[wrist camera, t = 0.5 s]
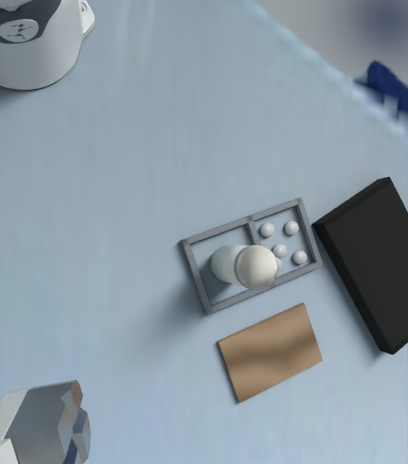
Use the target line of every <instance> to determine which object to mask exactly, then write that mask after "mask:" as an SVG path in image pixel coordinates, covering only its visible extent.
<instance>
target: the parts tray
mask: <svg viewBox="0 0 408 464" xmlns="http://www.w3.org/2000/svg"><path fill="white" fill-rule="evenodd" d="M292 206H296V210H297V213H298V216H299V219H300V222H301V225H302V228H303V231H304V234H305V237H306V240H307V244H308V247H309V250H310V253H311V256H312V259H313V262H312V263H310V264H307V265H305V266H303V267H300V268H298V269H296V270H293V271H291V272H288V273H286V274H284V275H281V276H279V277H277V278H275V280H274V281H273V283H272V284H271V285H270V286H268V287H267V288H265V289H262V290H252V289H248V290H246V291H243V292H241V293H239V294H236V295H234V296H231V297H229V298H227V299H224V300H222V301H220V302H217V303H215V304H212V305H210V302H209V299H208V296H207V293H206V290H205V287H204V285H203V282H202V279H201V276H200V273H199V270H198V267H197V264H196V261H195V258H194V255H193V253H192V250H191V247H190V244H191V243H194V242H196V241H199V240H202V239H205V238H207V237H210V236H213V235H216V234H218V233H221V232H224V231H227V230H229V229H232V228H235V227H238V226H240V225H243V224H246V226H247V229H248V232H249V235H250V238H251V241H252V244H253V245H261V242H260V239H259V236H258V233H257V230H256V227H255V224H254V220H257V219H260V218H262V217H265V216H268V215H270V214H273V213H276V212H279V211H281V210H284V209H287V208H290V207H292ZM284 229H285V232H286V233H287V234H288V235H295V234H296V233H297V232H298V230H299V227H298V224H297V223H296V222H294V221H290V222H287V223H286V224H285V227H284ZM260 233H261V235H262V236H264V237H270V236H272V235H273V234H274V226H273V225H272V224H270V223H264V224H263V225H261V227H260ZM180 241H181V244H182V246H183V249H184V252H185V255H186V258H187V261H188V264H189V267H190V270H191V273H192V276H193V278H194V281H195V284H196V287H197V290H198V293H199V296H200V299H201V302H202V305H203V307H204V310H205V313H206V314H207V315H209V314H211V313H213V312H216V311H218V310H220V309H223V308H225V307H227V306H230V305H232V304H234V303H237V302H239V301H241V300H244V299H246V298H248V297H251V296H253V295H255V294H258V293H260V292H262V291H265V290H267V289H269V288H272V287H274V286H276V285H279V284H281V283H283V282H286V281H288V280H290V279H293V278H295V277H297V276H300V275H302V274H305V273H307V272H309V271H312V270H314V269H316V268H319V267H321V266H323V263H322V260H321V257H320V254H319V250H318V247H317V244H316V241H315V238H314V235H313V232H312V229H311V226H310V223H309V219H308V216H307V213H306V210H305V207H304V204H303V201H302V198H297V199H294V200H292V201H289V202H286V203H283V204H280V205H278V206H275V207H272V208H269V209H267V210H264V211H261V212H258V213H255V214H253V215H250V216H247V217H244V218H241V219H239V220H236V221H233V222H230V223H228V224H225V225H222V226H219V227H216V228H214V229H211V230H208V231H205V232H203V233H200V234H197V235H194V236H191V237H189V238H186V239H183V240H180ZM272 252H273V253H274V255H275V257H276V259H277V263H278V270H279V269H280V268H281V266H282V263H281V260H280V259H279V258H283V257H284V256H285V255H286V253H287V250H286V247H285V246H284V245H282V244H277V245H275V246H274V247H273V249H272ZM306 260H307V255H306V253H305V252H304V251H296V252H295V253H294V254H293V261H294V262H295V263H296V264H304V263H305V262H306Z"/></svg>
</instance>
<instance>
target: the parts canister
mask: <svg viewBox="0 0 408 464" xmlns="http://www.w3.org/2000/svg"><path fill="white" fill-rule="evenodd" d="M211 270H212V272H213V274H214V275H215V277H216V278H218V279H219V280H221V281H225V282H229V283H232V284H236V285H240V286H244V287H246V288H248V289H252V290H262V289H265V288H267V287H268V286H270V285H271V284H272V283H273V281H274V280H275V278H276V275H277V272H278V263H277V259H276V257H275V255H274V253H273V252H272V251H271V250H270V249H269V248H267V247H265V246H262V245H249V246H223V247H220V248H219V249H217V250H216V251H215V252H214V254H213V256H212V258H211Z"/></svg>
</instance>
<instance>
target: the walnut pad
mask: <svg viewBox="0 0 408 464" xmlns="http://www.w3.org/2000/svg"><path fill="white" fill-rule="evenodd" d="M217 342H218V345H219V347H220V350H221V353H222V356H223V359H224V362H225V365H226V368H227V371H228V374H229V376H230V379H231V382H232V385H233V388H234V391H235V394H236V397H237V400H238V402H239V403H241V402H243V401H245V400H247V399H249V398H250V397H252V396H254V395H256V394H258V393H260V392H262V391H264V390H266V389H268V388H270V387H272V386H274V385H276V384H278V383H280V382H282V381H284V380H286V379H288V378H289V377H291V376H293V375H295V374H297V373H299V372H301V371H303V370H305V369H307V368H309V367H311V366H313V365H315V364H317V363H319V362H321V361H323V359H322V356H321V353H320V350H319V347H318V344H317V341H316V338H315V335H314V332H313V329H312V326H311V323H310V320H309V317H308V314H307V311H306V307H305V304H304V303H301V304H299V305H296V306H294V307H292V308H290V309H288V310H285V311H283V312H281V313H279V314H276V315H274V316H272V317H270V318H268V319H265V320H263V321H261V322H259V323H257V324H254V325H252V326H250V327H248V328H246V329H243V330H241V331H239V332H237V333H234V334H232V335H230V336H228V337H226V338H223V339H221V340H219V341H217Z"/></svg>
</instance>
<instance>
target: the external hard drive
mask: <svg viewBox="0 0 408 464" xmlns="http://www.w3.org/2000/svg"><path fill="white" fill-rule="evenodd" d="M312 225H313V227H314V229H315V231H316V233H317V235H318V236H319V238H320V240H321V242H322V244H323V246H324V247H325V249H326V251H327V253H328V255H329V257H330V259H331V260H332V262H333V264H334V266H335V268H336V270H337V271H338V273H339V275H340V277H341V279H342V281H343V283H344V284H345V286H346V288H347V290H348V292H349V294H350V295H351V297H352V299H353V301H354V303H355V305H356V307H357V308H358V310H359V312H360V314H361V316H362V318H363V319H364V321H365V323H366V325H367V327H368V329H369V331H370V332H371V334H372V336H373V338H374V340H375V342H376V343H377V345H378V347H379V349H380V351H383V352H386V353H389V354H391V355H393V354H395V353H396V352H397V351H399V350H400V349H401V348H402V347H403V346H404V345H405V344H407V343H408V212H407V210H406V208H405V206H404V204H403V202H402V200H401V198H400V196H399V194H398V192H397V190H396V188H395V186H394V184H393V182H392V180H391V178H390V177H386V178H382V179H378V180H376V181H375V182H373V183H372V184H370V185H369V186H367V187H366V188H365V189H363V190H362V191H360V192H359V193H357V194H356V195H354V196H353V197H351V198H350V199H348V200H347V201H345V202H344V203H342V204H341V205H340V206H338V207H337V208H335V209H334V210H332V211H331V212H329V213H328V214H326V215H325V216H323V217H322V218H320V219H319V220H317V221H316V222H314V223H313V224H312Z"/></svg>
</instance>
